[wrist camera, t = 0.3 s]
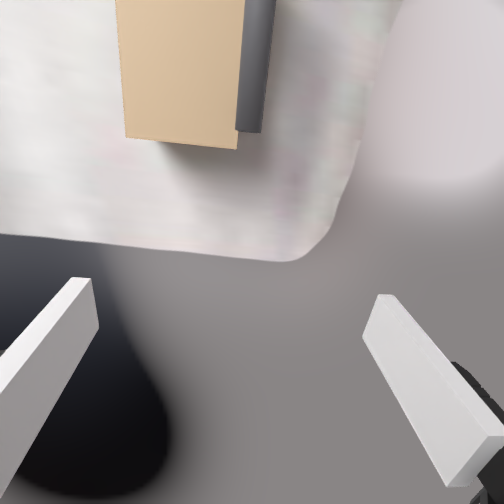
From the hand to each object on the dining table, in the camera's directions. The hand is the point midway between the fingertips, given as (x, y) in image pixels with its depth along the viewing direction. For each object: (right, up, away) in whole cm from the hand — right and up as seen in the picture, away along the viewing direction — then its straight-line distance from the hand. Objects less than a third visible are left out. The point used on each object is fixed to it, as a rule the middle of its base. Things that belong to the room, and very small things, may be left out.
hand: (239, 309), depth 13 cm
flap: (-4, +21, +10) cm, 24 cm away
